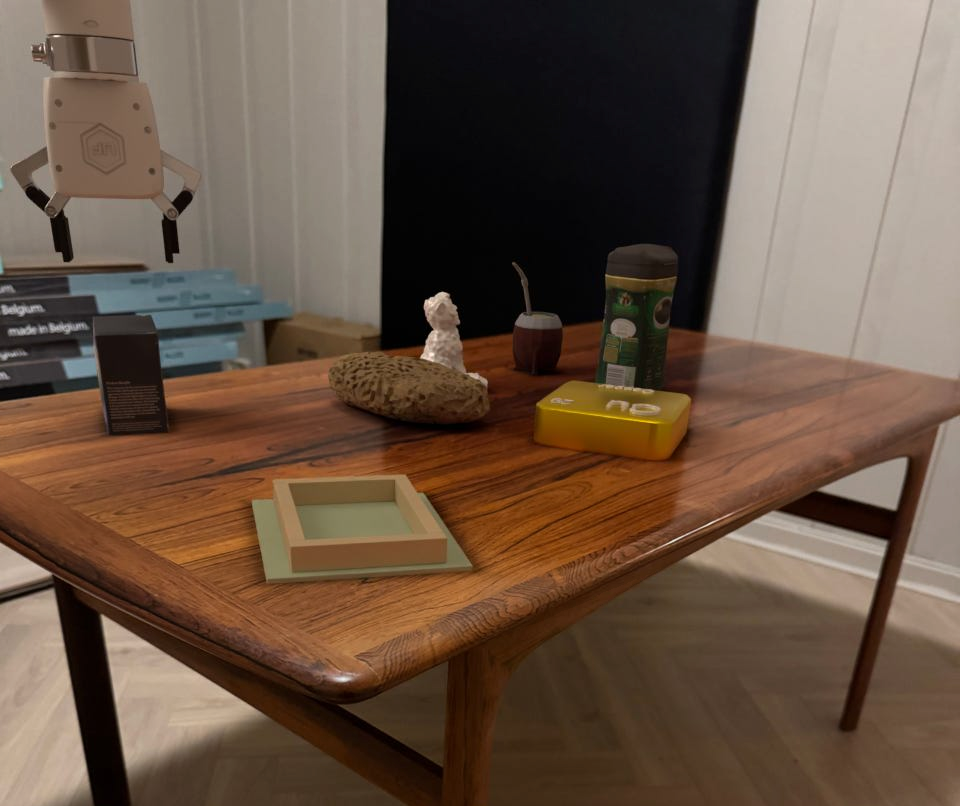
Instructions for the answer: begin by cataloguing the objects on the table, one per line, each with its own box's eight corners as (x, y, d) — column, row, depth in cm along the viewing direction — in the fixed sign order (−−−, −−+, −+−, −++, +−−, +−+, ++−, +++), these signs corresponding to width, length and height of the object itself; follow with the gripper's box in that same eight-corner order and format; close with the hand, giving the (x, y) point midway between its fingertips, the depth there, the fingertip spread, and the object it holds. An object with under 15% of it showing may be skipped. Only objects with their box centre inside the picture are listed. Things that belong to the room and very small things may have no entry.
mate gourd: (560, 369, 140) (569, 260, 133) (558, 380, 133) (568, 265, 126) (509, 365, 140) (516, 256, 133) (505, 377, 133) (512, 262, 126)
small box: (102, 412, 106) (89, 314, 101) (163, 409, 108) (153, 313, 104) (105, 437, 98) (90, 331, 93) (171, 434, 100) (160, 330, 95)
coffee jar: (618, 383, 133) (635, 239, 125) (670, 392, 129) (690, 245, 121) (583, 393, 126) (598, 242, 118) (637, 404, 122) (656, 248, 114)
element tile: (688, 431, 111) (695, 390, 109) (666, 465, 98) (673, 419, 96) (564, 415, 115) (568, 374, 113) (528, 445, 103) (531, 400, 100)
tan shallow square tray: (267, 586, 67) (265, 552, 66) (251, 506, 81) (250, 477, 80) (472, 573, 71) (474, 540, 70) (423, 498, 85) (423, 470, 84)
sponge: (317, 415, 114) (400, 419, 98) (320, 347, 113) (405, 340, 97) (411, 425, 122) (502, 430, 106) (416, 361, 120) (509, 357, 104)
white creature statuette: (491, 395, 123) (496, 297, 117) (430, 399, 119) (432, 298, 114) (461, 379, 130) (464, 286, 125) (402, 382, 127) (403, 287, 121)
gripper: (-16, 54, 82) (21, 265, 90) (192, 66, 87) (209, 266, 95) (-2, 59, 89) (31, 255, 97) (191, 70, 93) (207, 257, 101)
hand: (119, 261), depth 96 cm, fingers open, 9 cm apart
